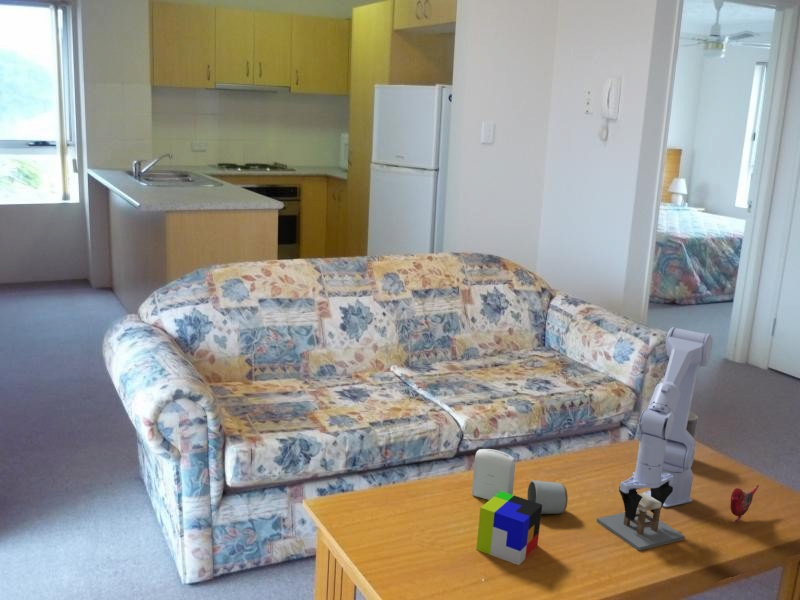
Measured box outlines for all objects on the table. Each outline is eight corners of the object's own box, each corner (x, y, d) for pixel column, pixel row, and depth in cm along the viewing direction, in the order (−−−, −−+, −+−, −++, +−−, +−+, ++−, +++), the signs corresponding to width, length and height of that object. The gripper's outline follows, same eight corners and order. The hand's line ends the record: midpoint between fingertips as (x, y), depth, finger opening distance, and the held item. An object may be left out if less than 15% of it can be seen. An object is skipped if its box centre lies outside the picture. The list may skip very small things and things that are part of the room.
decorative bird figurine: (720, 528, 196) (727, 489, 194) (748, 505, 209) (755, 468, 207) (732, 532, 194) (739, 493, 192) (760, 509, 207) (767, 472, 205)
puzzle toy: (518, 565, 174) (523, 522, 172) (476, 549, 179) (480, 507, 177) (537, 546, 183) (542, 504, 180) (496, 531, 188) (500, 491, 185)
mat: (640, 511, 202) (641, 508, 202) (684, 539, 190) (685, 536, 190) (596, 521, 195) (596, 518, 195) (638, 550, 183) (639, 547, 183)
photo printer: (468, 495, 204) (473, 449, 201) (475, 489, 208) (479, 443, 205) (508, 507, 199) (513, 459, 197) (514, 500, 203) (519, 453, 200)
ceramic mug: (567, 519, 195) (570, 489, 194) (533, 519, 194) (536, 488, 193) (553, 499, 206) (557, 470, 204) (521, 498, 205) (524, 469, 203)
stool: (640, 519, 196) (644, 492, 194) (657, 530, 191) (661, 502, 190) (623, 523, 193) (627, 496, 192) (640, 534, 189) (644, 506, 187)
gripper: (660, 450, 195) (652, 502, 198) (613, 458, 189) (606, 513, 192) (683, 462, 189) (674, 516, 192) (635, 471, 182) (627, 527, 186)
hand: (642, 515), depth 192 cm, fingers open, 7 cm apart
